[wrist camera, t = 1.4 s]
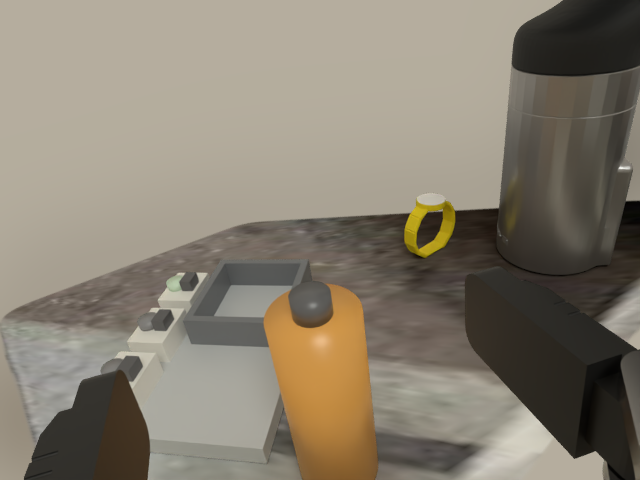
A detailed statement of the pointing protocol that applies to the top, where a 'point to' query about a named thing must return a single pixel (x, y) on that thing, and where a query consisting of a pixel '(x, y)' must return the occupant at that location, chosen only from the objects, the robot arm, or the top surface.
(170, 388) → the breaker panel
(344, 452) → the orange thermos flask
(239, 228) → the top surface
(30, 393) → the top surface
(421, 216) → the watch
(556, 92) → the robot arm
